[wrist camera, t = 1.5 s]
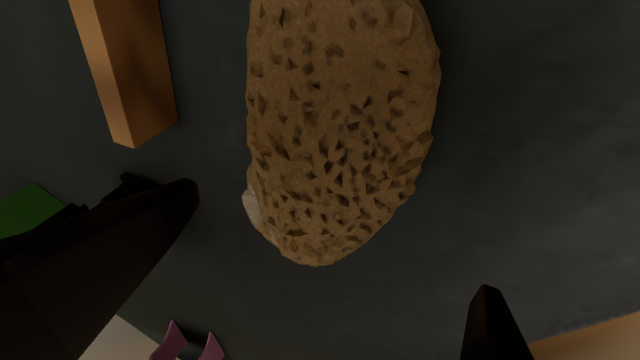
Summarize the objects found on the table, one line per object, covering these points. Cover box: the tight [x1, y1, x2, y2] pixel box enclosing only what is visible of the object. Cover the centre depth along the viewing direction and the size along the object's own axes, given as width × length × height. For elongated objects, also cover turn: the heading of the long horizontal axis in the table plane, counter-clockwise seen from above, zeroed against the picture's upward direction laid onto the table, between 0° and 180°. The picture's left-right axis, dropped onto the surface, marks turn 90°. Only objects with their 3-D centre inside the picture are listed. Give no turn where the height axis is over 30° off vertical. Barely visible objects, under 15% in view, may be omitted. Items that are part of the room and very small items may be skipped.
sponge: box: [242, 0, 442, 267], centre depth 21 cm, size 13×8×20 cm
